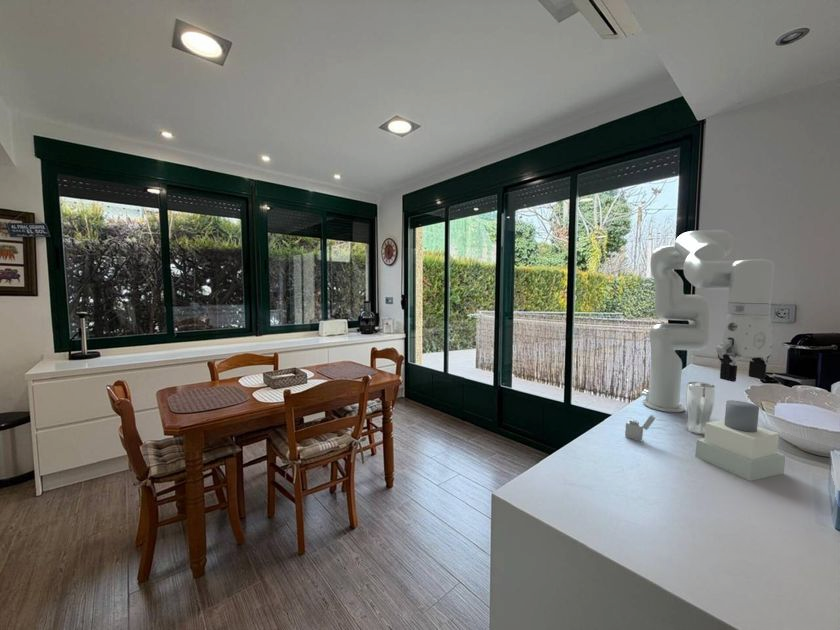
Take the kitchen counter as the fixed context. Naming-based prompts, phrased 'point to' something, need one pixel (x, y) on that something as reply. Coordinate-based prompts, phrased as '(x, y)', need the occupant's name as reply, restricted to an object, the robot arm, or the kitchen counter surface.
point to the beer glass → (699, 406)
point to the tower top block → (742, 440)
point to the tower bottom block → (740, 461)
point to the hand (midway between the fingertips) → (742, 379)
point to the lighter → (637, 428)
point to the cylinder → (741, 416)
